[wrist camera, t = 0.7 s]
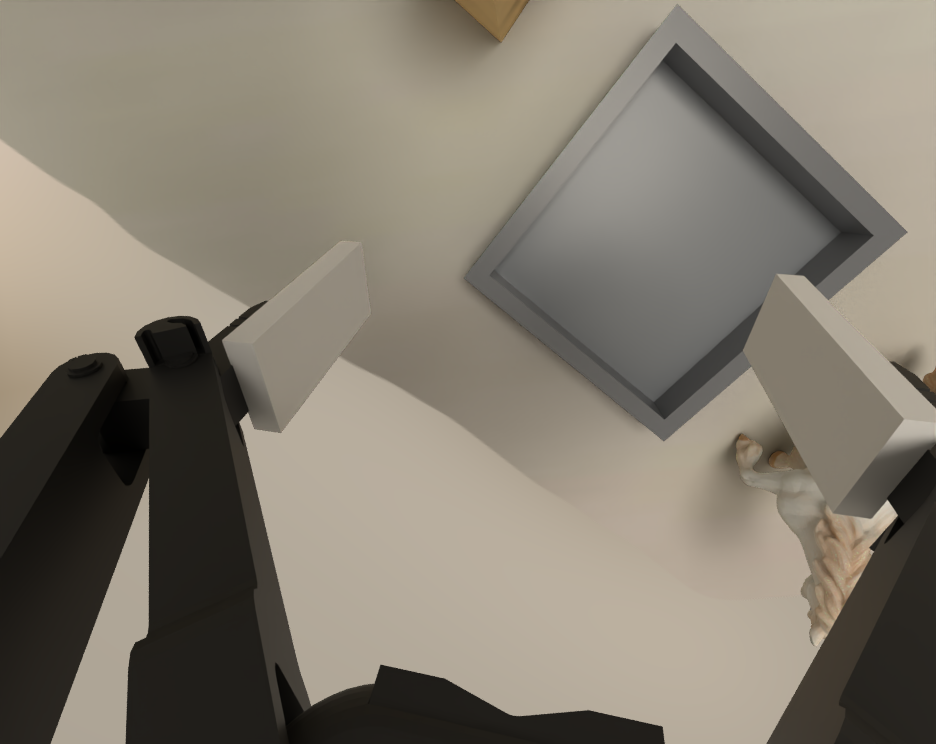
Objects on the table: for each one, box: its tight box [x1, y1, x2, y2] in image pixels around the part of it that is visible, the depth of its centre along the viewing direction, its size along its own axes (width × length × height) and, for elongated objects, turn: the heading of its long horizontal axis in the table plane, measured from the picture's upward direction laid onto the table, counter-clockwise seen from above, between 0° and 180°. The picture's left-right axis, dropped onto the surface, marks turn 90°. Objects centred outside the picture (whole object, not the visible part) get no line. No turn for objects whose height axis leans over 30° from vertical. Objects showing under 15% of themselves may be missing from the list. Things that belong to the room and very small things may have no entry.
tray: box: [464, 4, 907, 441], centre depth 29 cm, size 18×18×4 cm
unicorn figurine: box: [736, 368, 936, 647], centre depth 28 cm, size 7×20×13 cm, turn 154°
